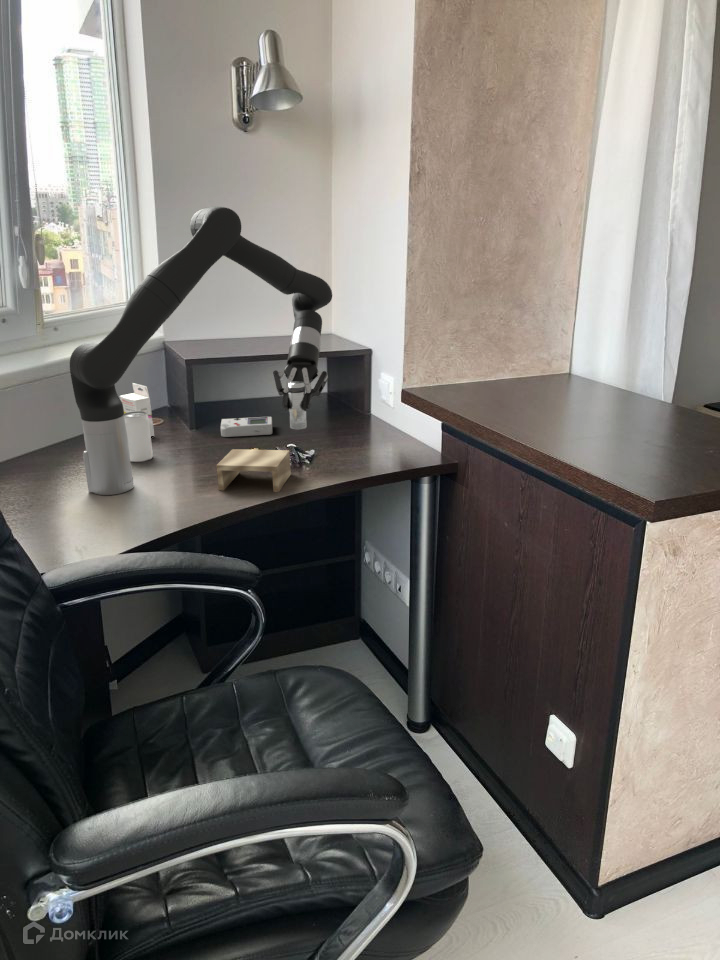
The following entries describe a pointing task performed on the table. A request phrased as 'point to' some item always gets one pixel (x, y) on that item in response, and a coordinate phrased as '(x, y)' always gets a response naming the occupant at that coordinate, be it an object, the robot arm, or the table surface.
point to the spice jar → (297, 405)
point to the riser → (254, 465)
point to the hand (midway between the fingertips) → (295, 408)
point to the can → (138, 436)
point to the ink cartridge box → (138, 403)
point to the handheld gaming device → (246, 426)
